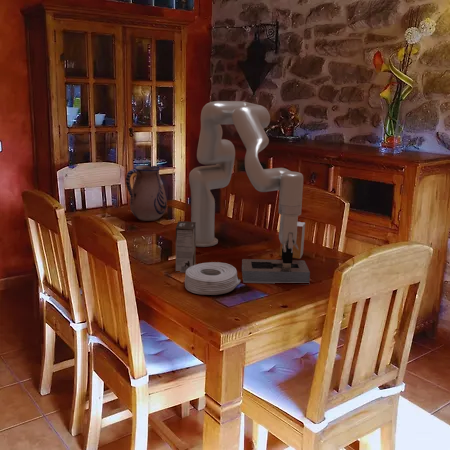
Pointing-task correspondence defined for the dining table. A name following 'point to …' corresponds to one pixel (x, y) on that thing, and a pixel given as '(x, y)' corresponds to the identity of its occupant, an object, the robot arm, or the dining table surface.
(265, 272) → the rail
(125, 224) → the dining table surface
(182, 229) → the coffee box
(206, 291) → the cable
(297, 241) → the small box
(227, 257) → the dining table surface
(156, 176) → the ceramic pitcher
